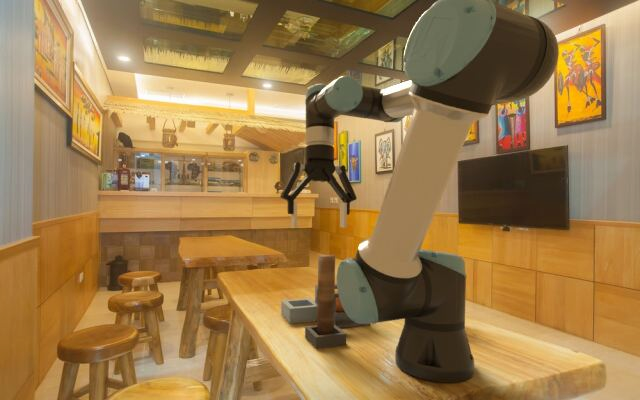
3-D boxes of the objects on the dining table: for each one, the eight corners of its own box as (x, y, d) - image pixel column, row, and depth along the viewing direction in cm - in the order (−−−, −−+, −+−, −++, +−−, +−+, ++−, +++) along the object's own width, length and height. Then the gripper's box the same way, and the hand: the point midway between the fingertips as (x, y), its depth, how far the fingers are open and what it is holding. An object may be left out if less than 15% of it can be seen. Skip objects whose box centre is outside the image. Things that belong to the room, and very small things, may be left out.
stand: (346, 344, 82) (346, 333, 82) (315, 348, 79) (316, 337, 79) (333, 333, 89) (333, 323, 89) (305, 337, 86) (305, 326, 86)
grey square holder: (320, 320, 99) (321, 306, 99) (289, 323, 96) (290, 308, 96) (310, 311, 107) (310, 298, 107) (281, 314, 104) (281, 300, 104)
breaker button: (351, 311, 98) (351, 295, 98) (337, 312, 97) (337, 296, 97) (344, 307, 102) (345, 292, 102) (330, 308, 101) (331, 293, 101)
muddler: (336, 342, 83) (337, 256, 83) (320, 345, 81) (322, 257, 82) (329, 337, 86) (331, 254, 87) (314, 338, 85) (316, 255, 85)
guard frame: (370, 324, 96) (370, 291, 96) (329, 329, 92) (330, 294, 92) (350, 312, 107) (351, 282, 107) (313, 316, 103) (314, 284, 103)
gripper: (356, 152, 101) (356, 227, 99) (269, 145, 92) (268, 227, 91) (369, 147, 93) (369, 227, 92) (276, 139, 85) (275, 227, 84)
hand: (319, 227), depth 92 cm, fingers open, 13 cm apart
